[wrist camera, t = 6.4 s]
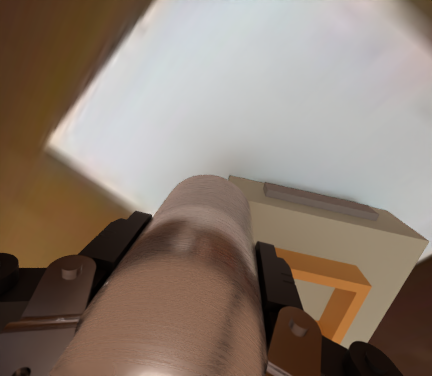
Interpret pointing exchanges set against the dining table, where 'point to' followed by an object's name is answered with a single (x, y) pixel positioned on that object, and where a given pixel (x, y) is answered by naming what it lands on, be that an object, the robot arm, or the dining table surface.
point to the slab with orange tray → (335, 254)
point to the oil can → (179, 295)
